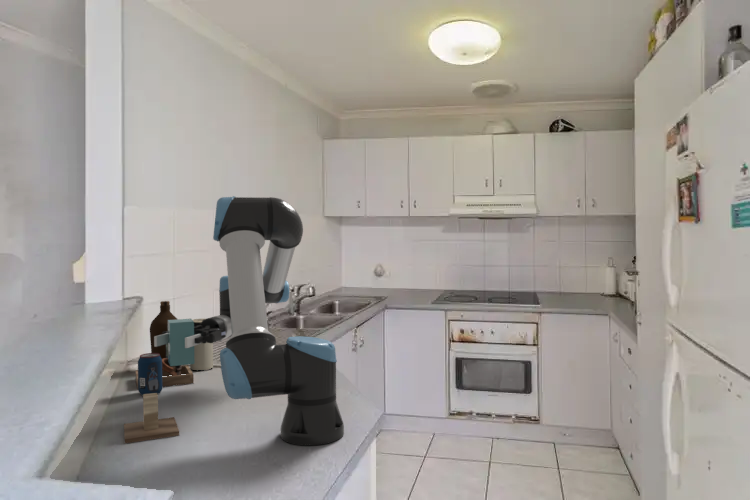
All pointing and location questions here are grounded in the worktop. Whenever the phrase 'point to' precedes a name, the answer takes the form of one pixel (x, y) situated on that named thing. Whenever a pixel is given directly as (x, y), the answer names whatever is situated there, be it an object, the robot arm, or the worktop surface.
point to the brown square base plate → (150, 423)
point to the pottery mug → (170, 368)
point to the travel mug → (202, 353)
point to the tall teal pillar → (180, 342)
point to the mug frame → (175, 377)
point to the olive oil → (161, 328)
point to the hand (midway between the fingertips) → (170, 342)
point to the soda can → (150, 373)
